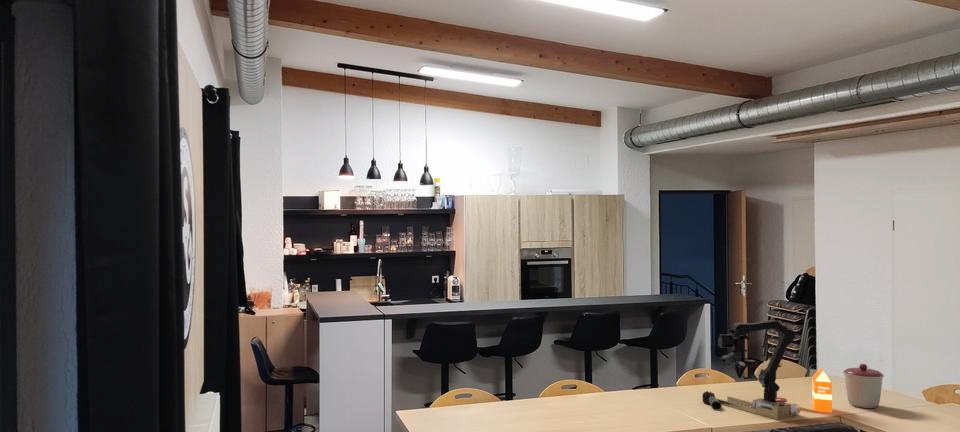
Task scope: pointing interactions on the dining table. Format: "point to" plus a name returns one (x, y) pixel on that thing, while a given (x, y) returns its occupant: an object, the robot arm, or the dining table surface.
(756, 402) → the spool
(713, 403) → the grey brown wooden log
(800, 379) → the dining table surface
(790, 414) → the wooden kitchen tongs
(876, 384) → the canister
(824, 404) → the orange juice
